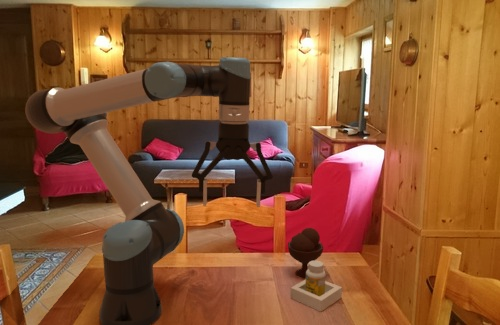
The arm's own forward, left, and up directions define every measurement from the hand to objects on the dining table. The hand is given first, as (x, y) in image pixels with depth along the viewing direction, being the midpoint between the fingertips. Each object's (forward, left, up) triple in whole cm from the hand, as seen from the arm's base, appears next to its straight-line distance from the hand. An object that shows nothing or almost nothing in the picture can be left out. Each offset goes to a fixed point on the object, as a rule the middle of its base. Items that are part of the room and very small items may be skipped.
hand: (231, 205), depth 106 cm
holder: (+14, +18, -28) cm, 36 cm away
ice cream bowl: (+3, +28, -28) cm, 40 cm away
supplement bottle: (+14, +18, -27) cm, 36 cm away
